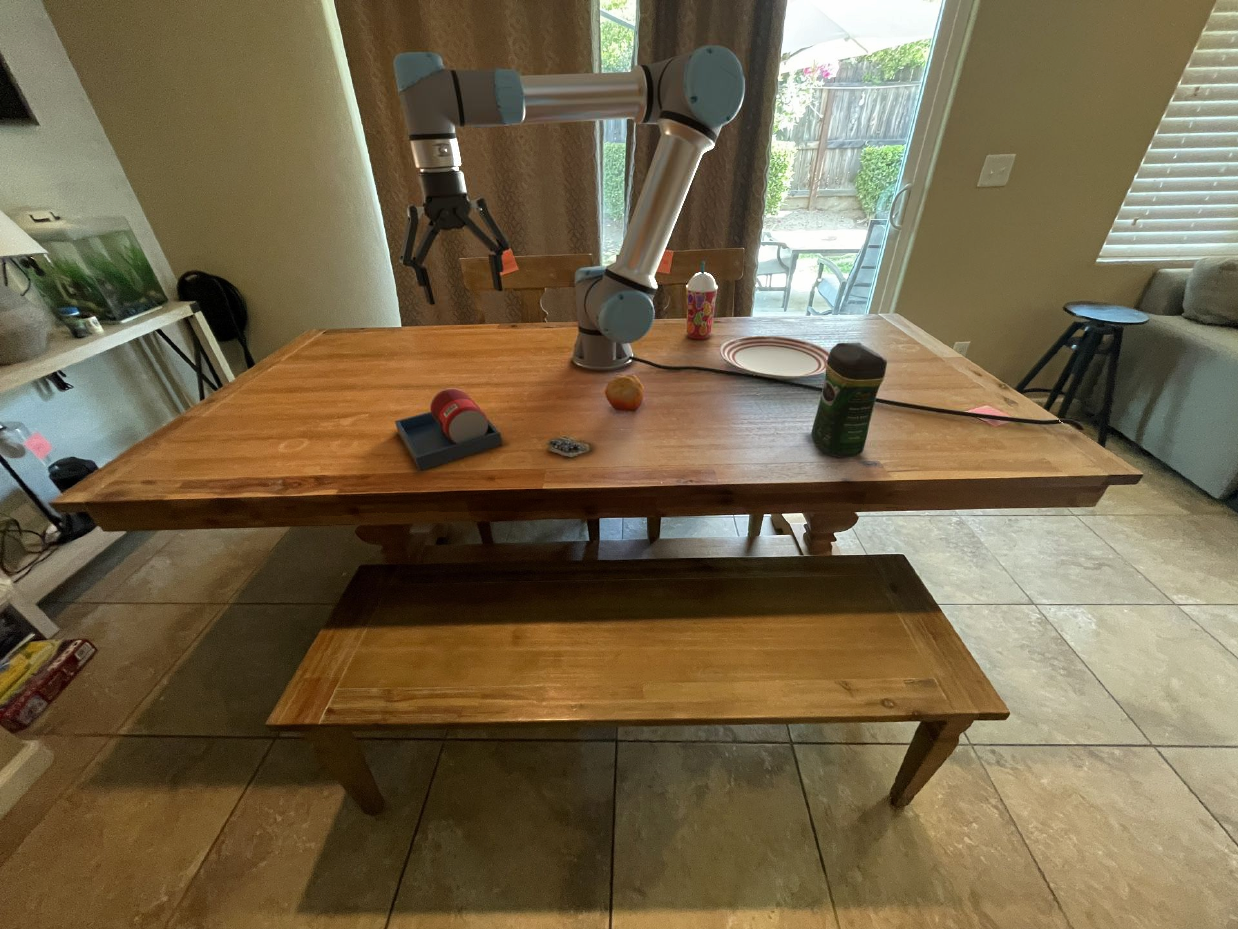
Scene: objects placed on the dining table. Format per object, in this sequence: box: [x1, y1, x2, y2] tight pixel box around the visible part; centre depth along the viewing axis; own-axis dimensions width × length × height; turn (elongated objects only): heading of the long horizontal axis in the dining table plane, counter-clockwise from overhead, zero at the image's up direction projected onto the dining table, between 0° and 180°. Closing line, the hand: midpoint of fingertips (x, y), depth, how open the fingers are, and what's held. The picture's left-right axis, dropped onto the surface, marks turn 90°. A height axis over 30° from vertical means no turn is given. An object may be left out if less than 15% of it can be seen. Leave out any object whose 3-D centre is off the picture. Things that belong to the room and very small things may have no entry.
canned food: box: [430, 387, 489, 444], centre depth 96 cm, size 8×8×11 cm
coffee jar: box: [810, 341, 888, 458], centre depth 87 cm, size 10×8×19 cm
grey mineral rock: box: [545, 436, 591, 458], centre depth 93 cm, size 7×8×2 cm
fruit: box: [604, 373, 645, 412], centre depth 105 cm, size 8×8×8 cm
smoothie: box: [685, 261, 718, 340], centre depth 138 cm, size 8×8×20 cm
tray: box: [394, 411, 503, 472], centre depth 96 cm, size 16×15×3 cm
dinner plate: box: [719, 335, 830, 380], centre depth 123 cm, size 27×27×3 cm
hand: (465, 296), depth 97 cm, fingers open, 13 cm apart
